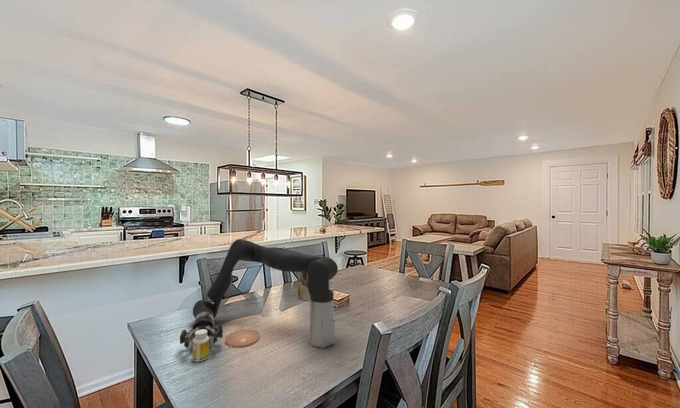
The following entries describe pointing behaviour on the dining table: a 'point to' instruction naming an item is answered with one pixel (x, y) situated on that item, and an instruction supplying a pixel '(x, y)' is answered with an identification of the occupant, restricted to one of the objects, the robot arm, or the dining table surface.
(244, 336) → the terracotta saucer
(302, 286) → the coffee box
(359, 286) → the dining table surface
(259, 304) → the dining table surface
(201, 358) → the supplement bottle
